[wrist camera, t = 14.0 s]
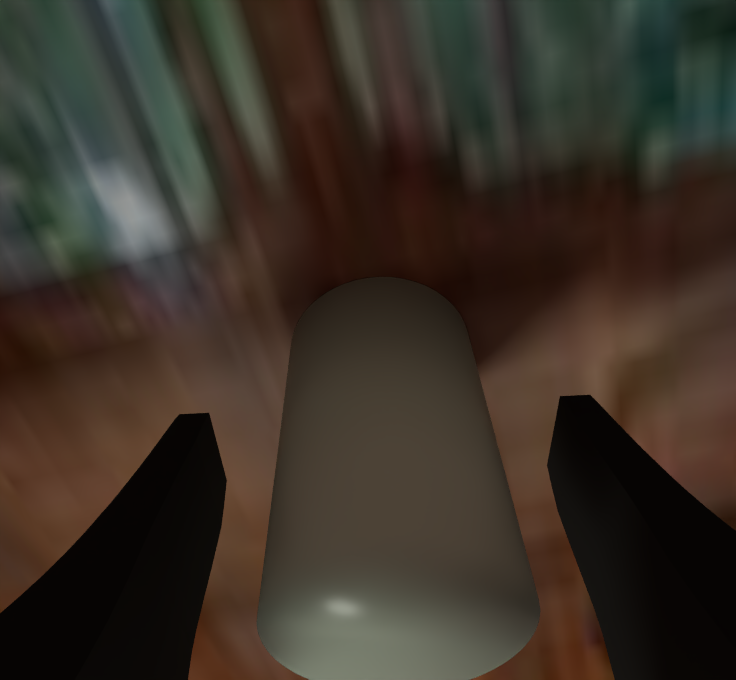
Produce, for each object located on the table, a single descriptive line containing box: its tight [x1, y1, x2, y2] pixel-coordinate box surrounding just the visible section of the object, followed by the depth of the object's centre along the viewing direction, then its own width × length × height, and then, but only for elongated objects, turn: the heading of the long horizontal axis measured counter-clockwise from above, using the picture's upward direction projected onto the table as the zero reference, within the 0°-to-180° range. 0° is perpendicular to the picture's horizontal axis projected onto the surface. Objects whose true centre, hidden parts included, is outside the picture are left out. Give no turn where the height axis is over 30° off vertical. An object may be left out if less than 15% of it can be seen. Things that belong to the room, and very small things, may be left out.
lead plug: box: [257, 277, 540, 680], centre depth 13 cm, size 4×4×7 cm
